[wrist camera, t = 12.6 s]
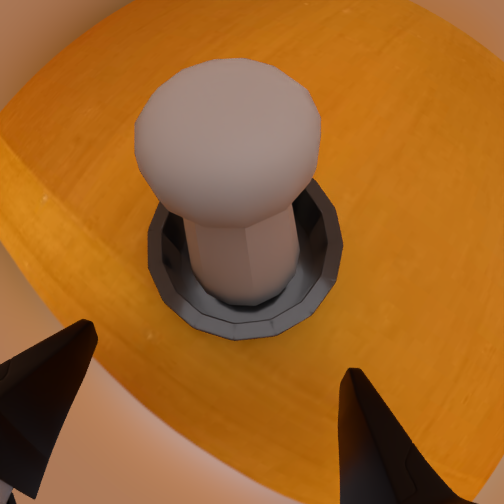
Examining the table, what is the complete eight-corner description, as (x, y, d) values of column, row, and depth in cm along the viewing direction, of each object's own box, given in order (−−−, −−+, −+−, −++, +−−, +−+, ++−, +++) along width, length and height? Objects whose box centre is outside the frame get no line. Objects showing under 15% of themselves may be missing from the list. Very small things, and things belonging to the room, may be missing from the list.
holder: (333, 326, 17) (357, 323, 13) (177, 344, 17) (152, 346, 13) (308, 185, 20) (319, 147, 15) (169, 200, 20) (149, 166, 15)
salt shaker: (281, 320, 17) (353, 276, 4) (187, 296, 17) (45, 205, 5) (301, 227, 18) (364, 51, 6) (213, 208, 19) (158, 29, 6)
